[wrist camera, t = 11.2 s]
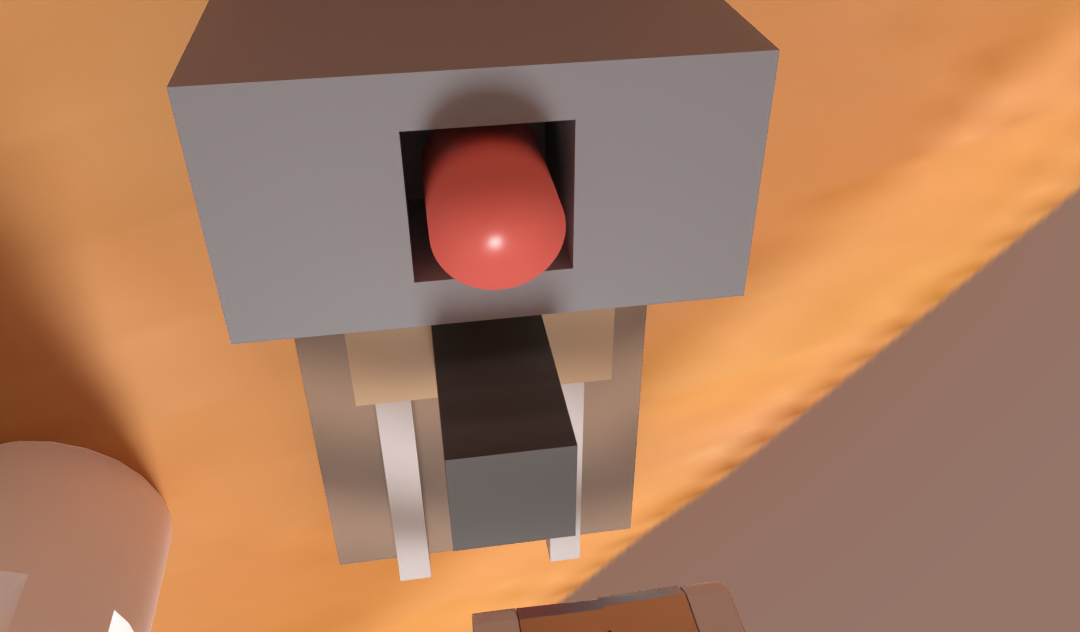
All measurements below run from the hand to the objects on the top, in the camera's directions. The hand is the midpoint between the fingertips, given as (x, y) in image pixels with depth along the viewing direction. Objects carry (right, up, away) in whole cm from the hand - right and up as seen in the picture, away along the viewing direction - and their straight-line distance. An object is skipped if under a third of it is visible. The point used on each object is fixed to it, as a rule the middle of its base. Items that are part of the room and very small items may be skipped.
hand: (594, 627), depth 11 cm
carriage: (-3, +4, +18) cm, 19 cm away
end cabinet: (-3, +12, +17) cm, 21 cm away
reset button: (-2, +7, +10) cm, 13 cm away
